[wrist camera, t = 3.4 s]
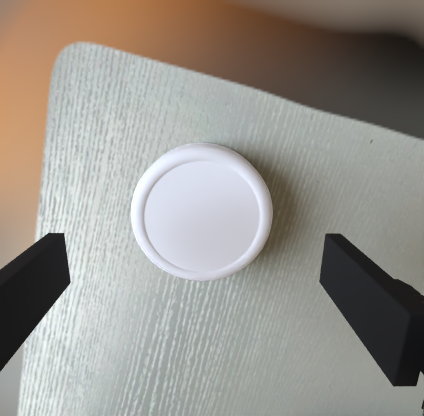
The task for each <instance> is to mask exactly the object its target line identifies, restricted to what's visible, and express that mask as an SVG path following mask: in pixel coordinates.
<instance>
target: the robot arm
mask: <svg viewBox="0 0 424 416" xmlns="http://www.w3.org/2000/svg"><path fill="white" fill-rule="evenodd" d="M319 282H320V283H321V285H322V286H323V288H324V289H325V290H326V292H327V293H328V295H329V296H330V297H331V299H332V300H333V302H334V303H335V305H336V306H337V307H338V309H339V310H340V312H341V313H342V314H343V316H344V317H345V319H346V320H347V321H348V323H349V324H350V326H351V327H352V329H353V330H354V331H355V333H356V334H357V336H358V337H359V338H360V340H361V341H362V343H363V344H364V346H365V347H366V348H367V350H368V351H369V353H370V354H371V355H372V357H373V358H374V360H375V361H376V362H377V364H378V365H379V367H380V368H381V370H382V371H383V372H384V374H385V375H386V377H387V378H388V379H389V381H390V382H391V384H392V385H393V386H416V385H417V381H418V377H419V373H420V371H421V372H422V373H423V374H424V296H423V295H421V294H420V293H419V292H418V291H417V290H416V289H414V288H413V287H412V286H410V285H408V284H406V283H404V282H402V281H401V280H399V279H393V278H392V277H391V276H390V275H388V274H387V273H386V272H385V271H384V270H382V269H381V268H380V267H379V266H378V265H377V264H375V263H374V262H373V261H372V260H371V259H370V258H368V257H367V256H366V255H365V254H364V253H362V252H361V251H360V250H359V249H358V248H357V247H355V246H354V245H353V244H352V243H351V242H350V241H348V240H347V239H346V238H345V237H344V236H343V235H341V234H325V242H324V250H323V257H322V265H321V273H320V281H319ZM70 283H71V282H70V275H69V267H68V260H67V252H66V245H65V237H64V233H48V234H46V235H45V236H44V237H43V238H41V239H40V240H39V241H37V242H36V243H35V244H33V245H32V246H31V247H29V248H28V249H27V250H25V251H24V252H23V253H22V254H20V255H19V256H18V257H16V258H15V259H14V260H12V261H11V262H10V263H8V264H7V265H6V266H4V267H3V268H2V269H1V270H0V371H1V370H2V369H3V368H4V366H5V365H6V364H7V363H8V361H9V360H10V359H11V357H12V356H13V355H14V354H15V352H16V351H17V350H18V349H19V347H20V346H21V345H22V344H23V342H24V341H25V340H26V338H27V337H28V336H29V335H30V333H31V332H32V331H33V330H34V328H35V327H36V326H37V325H38V323H39V322H40V321H41V319H42V318H43V317H44V316H45V314H46V313H47V312H48V311H49V309H50V308H51V307H52V306H53V304H54V303H55V302H56V300H57V299H58V298H59V297H60V295H61V294H62V293H63V292H64V290H65V289H66V288H67V287H68V285H69V284H70ZM422 409H424V401H423V404H422ZM423 416H424V410H423Z"/></svg>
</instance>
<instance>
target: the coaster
mask: <svg viewBox="0 0 424 416" xmlns="http://www.w3.org/2000/svg"><path fill="white" fill-rule="evenodd" d="M272 219H273V206H272V200H271V196H270V193H269V190H268V187H267V185H266V183H265V181H264V180H263V178H262V177H261V175H260V174H259V172H258V171H257V170H256V169H255V168H254V167H253V166H252V165H251V164H250V163H249V162H248V161H247V160H246V159H245V158H244V157H242V156H241V155H240V154H238V153H236V152H235V151H233V150H231V149H229V148H227V147H224V146H221V145H217V144H212V143H191V144H186V145H182V146H179V147H177V148H174V149H172V150H170V151H168V152H167V153H165V154H164V155H162V156H161V157H160V158H159V159H157V160H156V161H155V162H154V163H153V164H152V165H151V166H150V167H149V168H148V169H147V170H146V172H145V173H144V175H143V176H142V177H141V179H140V181H139V183H138V185H137V187H136V189H135V192H134V195H133V199H132V204H131V221H132V227H133V231H134V234H135V237H136V240H137V242H138V244H139V246H140V247H141V249H142V250H143V252H144V253H145V254H146V255H147V257H148V258H149V259H150V260H151V261H152V262H153V263H154V264H156V265H157V266H158V267H160V268H161V269H163V270H164V271H166V272H168V273H170V274H172V275H174V276H177V277H180V278H183V279H187V280H193V281H212V280H218V279H222V278H225V277H228V276H231V275H233V274H235V273H237V272H239V271H240V270H242V269H243V268H245V267H246V266H247V265H249V264H250V263H251V262H252V261H253V260H254V259H255V258H256V257H257V255H258V254H259V253H260V251H261V250H262V248H263V247H264V245H265V243H266V241H267V239H268V236H269V234H270V230H271V226H272Z"/></svg>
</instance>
